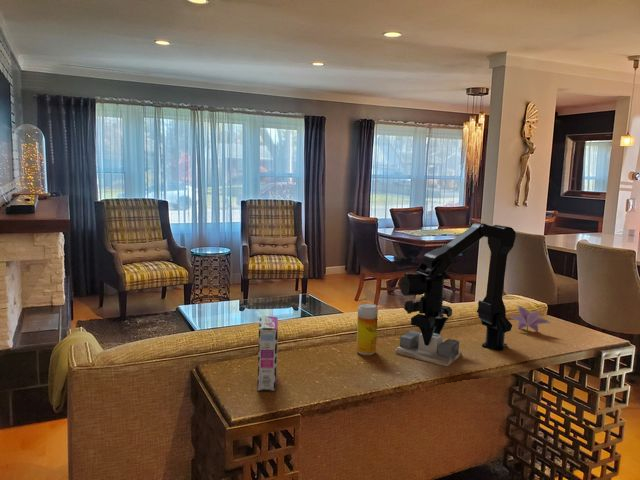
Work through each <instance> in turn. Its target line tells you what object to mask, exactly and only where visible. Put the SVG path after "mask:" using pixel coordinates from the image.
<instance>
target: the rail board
mask: <svg viewBox="0 0 640 480" xmlns="http://www.w3.org/2000/svg"><path fill="white" fill-rule="evenodd" d="M421 333H422V332H421V331H420V332H419V331H414V330H410V331H408V332H406V333H404V334H403V335H401V336H400V338H399V346H398V347H396V350H395V354H396V355H400V356H403V357H408V358H413V359H416V360H419V361H422V362H428V363H432V364H435V363H436V364H435V365H439V366H444V367H448V366H450V365H451V364H452V363H454V362H455V361H456V360H457V359H458V358H460V357H461V356H462V351H460V340H458V339H451V338H447V339H446V340H444V341H443V343H441V344H440V345H438V354H433V353H429V352H424V351H420V350H418V344H419V334H421ZM459 356H460V357H459ZM454 360H455V361H454Z"/></svg>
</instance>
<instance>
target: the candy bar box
mask: <svg viewBox="0 0 640 480" xmlns="http://www.w3.org/2000/svg"><path fill="white" fill-rule="evenodd" d="M278 321H279V320H278V317H277V316H260V317H259V322H258V349H257V350H258V351H257V391H258V392H275V391H276V390H277V379H278V378H277V377H278V376H277V375H278V372H277V371H278V348H279V347H278V342H279V341H278V339H279V338H278V337H279V335H278V332H279V331H278V328H279V327H278V326H279V325H278Z"/></svg>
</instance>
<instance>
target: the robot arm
mask: <svg viewBox="0 0 640 480" xmlns="http://www.w3.org/2000/svg"><path fill="white" fill-rule="evenodd" d="M516 237H517V234H516V231H515V229H514V228H512V227H510V226H506V225H500V224H494V225H488V223H483V222H474V223H472V225H471V226H470V227H468V228H467V229H466V230H464V231H463V232H462V233H461V234H459V235H458V236H456V237H454V239H452V240H451V241H449V242H448V243H447V244H446V245H443V246H440V247H437V248H434V249H432V250H430V251H428V252H426V253H425V254H424V255H423V257H422V260H421V262H420V263H419V265H418V266H417V267H416V269H415V271H414V272H404V274H403V275H404V276H403V277H402V278H401V280H400V282H399V288H400V292H401V294H402V295H403V296H406V297H407V296H420V295H421V296H420V299H417V300H412V299H410V300H406V301H405V302H404V307H403V310H404V311H405V312H406V313H407V314H412V313H417V312H418V313H417V314H415V315H413V316H412V317H411V318H410V325H411V326H412V327H418V328H419V329H420V332H421V333H422V336H423V340H424V344H425V345H427V346H428V345H429V343H430V341H431V338H432V336H433V333H436V334H441V333H442V330H443V329H444V327H445V325H446V324H447V322H448V321H449V318H450V317H452V316H453V309H452V307H450V306H448V305H443V301H446V296H444V282H445V281H447V280H451V276H449V275H448V273H446V272H447V270H449V268H450V267H451V266H452V265H453V263H454V262H455V261H454V260H455V259H456V258H457V257H458V256H459V255H460V254H462V253H463V252H465V251H466V250H468V249H469V248H470V247H472V246H473V245H474V244H475V243H477V242H478V241H480V240H481V239H483V238H487V245H488V247H489V251H490V261H489V268H488V269H489V270H488V275H487V277H488V278H487V283H486V284H487V286H486V294H485V296H484V298H483V300H478V303H477V310H476V313H477V317H478V318H479V319H480V322H481V325H482V326H485V327H486V331H485V342H484V343H482V344H481V346H482V347H484V348H488V349H493V350H497V351H503V350H504V349H505V348H506V347H507V346H508V344H507V343H505V335H506V333H508V332H511V330H512V328H513V324H512V323H511V322H510V320H509V319H508V318H507V314H506V313H507V311H506V306H505V302H504V301H503V295H504V285H505V276H506V269H507V261H508V256H509V255H508V254H509V253H510V252H511V250H512V249H513V247H514V246H515V242H516ZM445 315H446V317H445Z"/></svg>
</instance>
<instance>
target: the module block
mask: <svg viewBox="0 0 640 480" xmlns="http://www.w3.org/2000/svg"><path fill="white" fill-rule="evenodd" d="M443 339H444V334H441V333H440V334H436V333H433V336H432V338H431V341H430V343H429V345H428V346H427V345H425V344H424V340H423V336H422V332H421V334H419V344H418V350H420V351H424V352H429V353H433V354H438V345H440V344H441V343H443V342H444V341H443Z"/></svg>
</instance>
